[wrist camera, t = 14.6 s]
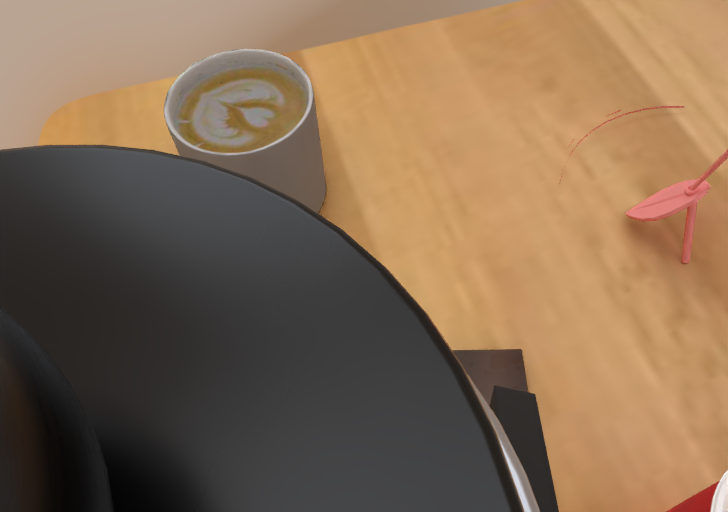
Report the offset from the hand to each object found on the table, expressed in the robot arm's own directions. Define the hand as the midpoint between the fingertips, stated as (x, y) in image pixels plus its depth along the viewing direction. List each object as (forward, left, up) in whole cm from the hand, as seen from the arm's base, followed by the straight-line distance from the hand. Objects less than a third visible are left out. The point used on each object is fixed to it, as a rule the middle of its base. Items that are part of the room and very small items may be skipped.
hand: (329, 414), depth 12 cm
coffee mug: (+9, -28, -27) cm, 39 cm away
